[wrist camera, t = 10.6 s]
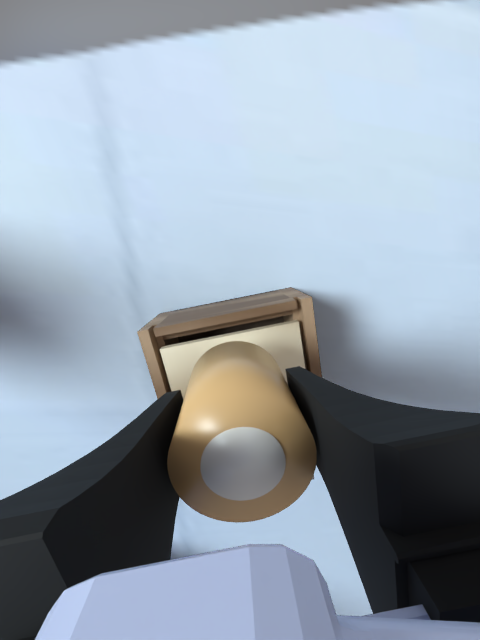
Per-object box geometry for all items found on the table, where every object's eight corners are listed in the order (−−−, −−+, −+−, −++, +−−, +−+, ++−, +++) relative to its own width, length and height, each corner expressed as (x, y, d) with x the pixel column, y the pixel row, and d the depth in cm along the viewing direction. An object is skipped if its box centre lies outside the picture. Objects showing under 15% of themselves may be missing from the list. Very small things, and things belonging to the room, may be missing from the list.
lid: (314, 445, 17) (330, 478, 15) (196, 468, 17) (190, 506, 15) (296, 319, 15) (310, 332, 13) (161, 346, 15) (147, 364, 13)
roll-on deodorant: (277, 334, 12) (311, 386, 7) (286, 417, 13) (322, 512, 8) (181, 349, 12) (150, 412, 7) (199, 431, 13) (182, 535, 8)
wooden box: (307, 403, 21) (330, 445, 17) (191, 427, 21) (181, 475, 17) (290, 287, 19) (311, 297, 14) (159, 313, 19) (137, 331, 14)
